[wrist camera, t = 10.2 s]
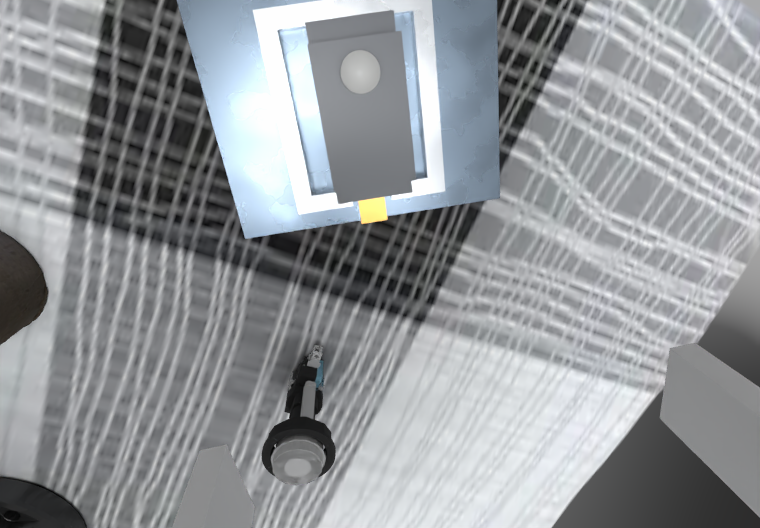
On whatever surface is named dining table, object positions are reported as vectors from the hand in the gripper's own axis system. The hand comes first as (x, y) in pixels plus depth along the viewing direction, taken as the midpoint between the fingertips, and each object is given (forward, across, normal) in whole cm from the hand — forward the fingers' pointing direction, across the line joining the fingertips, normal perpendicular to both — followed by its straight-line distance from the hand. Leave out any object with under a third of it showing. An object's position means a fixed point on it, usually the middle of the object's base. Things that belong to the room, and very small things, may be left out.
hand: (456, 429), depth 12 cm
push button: (+23, -9, -14) cm, 28 cm away
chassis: (+22, 0, +8) cm, 24 cm away
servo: (+21, 0, +8) cm, 23 cm away
